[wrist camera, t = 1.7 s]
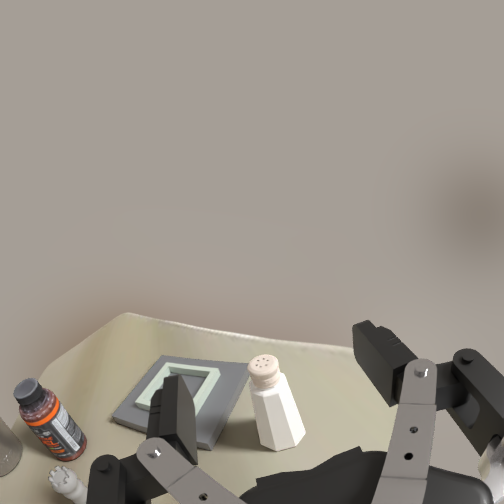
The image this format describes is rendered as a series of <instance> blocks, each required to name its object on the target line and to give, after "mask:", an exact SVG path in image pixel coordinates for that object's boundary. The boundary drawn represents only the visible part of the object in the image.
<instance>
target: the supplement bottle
mask: <svg viewBox="0 0 504 504" xmlns="http://www.w3.org/2000/svg"><path fill="white" fill-rule="evenodd" d="M13 394H14V397H15V398H16V400H17V401H18V403H19V404H20V406H19V412H20V415H21V417H22V419H23V420H24V421H25V422H26V424H27V425H28V426H29V427H30V429H31V430H32V431H33V432H34V433H35V434H36V436H37V437H38V438H39V439H40V440H41V441H42V443H43V444H44V445H45V446H46V447H47V448H48V449H49V450H50V451H51V452H52V454H53V455H55V456H56V457H57V458H58V459H60V460H62V461H70V460H74V459H76V458H77V457H79V456H80V455H81V454H82V453H83V451H84V450H85V448H86V444H87V440H86V437H85V435H84V433H83V432H82V431H81V429H80V428H79V427H78V426H77V424H76V423H75V422H74V420H73V419H72V418H71V416H70V415H69V414H68V412H67V411H66V410H65V408H64V407H63V405H62V404H61V403H60V401H59V400H58V399H57V397H56V396H55V394H54V393H53V392H52V391H50V390H49V389H46V388H42V386H41V385H40V384H39V383H38V381H37V380H36V379H35V378H28V379H25V380H23V381H22V382H20V383H19V384H18V385H17V387H16V388H15V390H14V393H13Z"/></svg>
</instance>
